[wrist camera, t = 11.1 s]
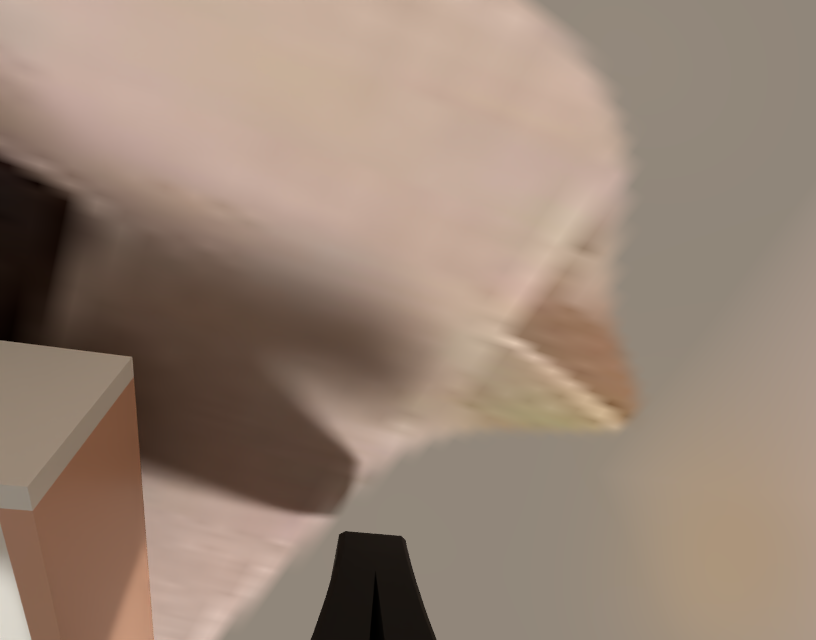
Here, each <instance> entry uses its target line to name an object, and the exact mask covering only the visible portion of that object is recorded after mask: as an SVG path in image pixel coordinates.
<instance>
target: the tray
mask: <svg viewBox="0 0 816 640" xmlns="http://www.w3.org/2000/svg"><path fill="white" fill-rule="evenodd" d="M0 640H154V636H153V623H152V610H151V597H150V583H149V570H148V557H147V544H146V530H145V517H144V504H143V491H142V477H141V464H140V451H139V438H138V424H137V411H136V398H135V385H134V371H133V358H132V357H129V356H121V355H113V354H105V353H97V352H89V351H81V350H73V349H65V348H57V347H49V346H41V345H33V344H25V343H17V342H9V341H1V340H0Z"/></svg>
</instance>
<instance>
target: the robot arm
mask: <svg viewBox="0 0 816 640" xmlns="http://www.w3.org/2000/svg"><path fill="white" fill-rule="evenodd" d="M311 640H436V637H435V635H434V632H433V629H432V627H431V624H430V621H429V619H428V616H427V613H426V610H425V607H424V604H423V601H422V598H421V595H420V592H419V589H418V586H417V583H416V579H415V576H414V573H413V569H412V566H411V562H410V558H409V554H408V550H407V545H406V541H405V539H404V538H403V537H402V536H394V535H383V534H370V533H358V532H348V531H345V532H343V533H341V534H339V539H338V544H337V549H336V555H335V560H334V566H333V571H332V576H331V581H330V585H329V588H328V591H327V595H326V598H325V601H324V604H323V607H322V610H321V613H320V615H319V618H318V621H317V624H316V627H315V630H314V633H313V635H312V638H311Z"/></svg>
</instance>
